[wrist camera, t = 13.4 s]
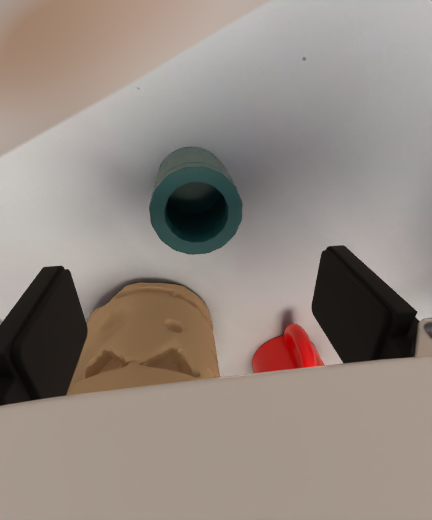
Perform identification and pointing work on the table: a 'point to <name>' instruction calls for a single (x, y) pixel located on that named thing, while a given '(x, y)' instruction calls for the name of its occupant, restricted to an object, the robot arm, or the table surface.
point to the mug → (287, 352)
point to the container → (146, 340)
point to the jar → (194, 202)
